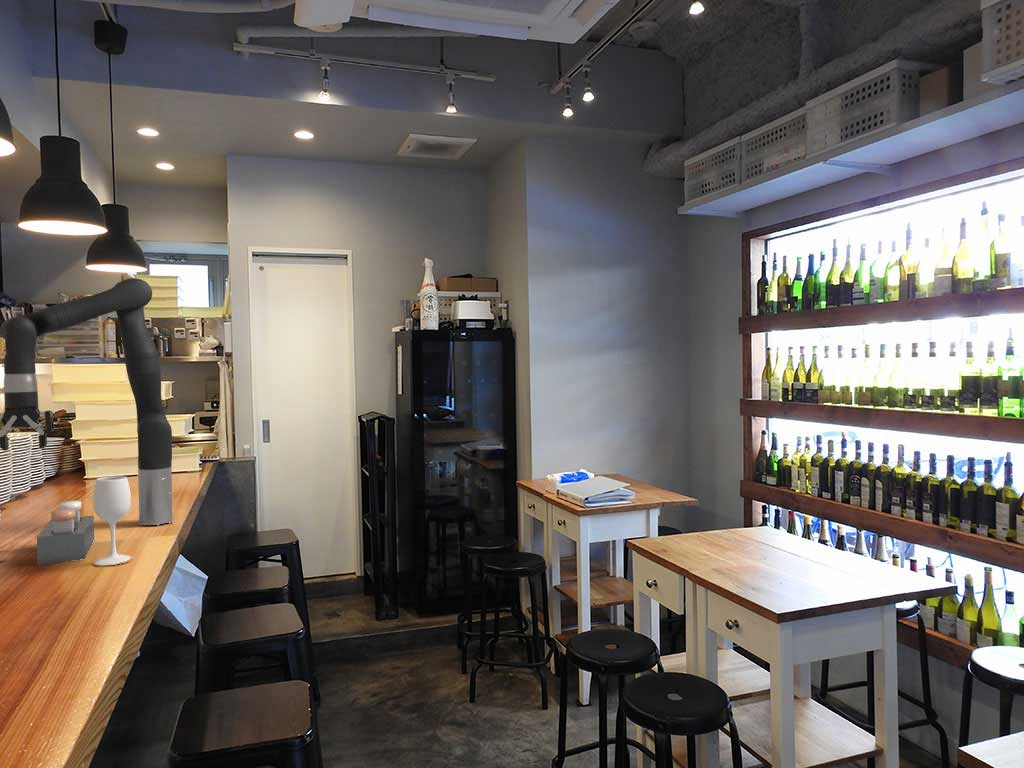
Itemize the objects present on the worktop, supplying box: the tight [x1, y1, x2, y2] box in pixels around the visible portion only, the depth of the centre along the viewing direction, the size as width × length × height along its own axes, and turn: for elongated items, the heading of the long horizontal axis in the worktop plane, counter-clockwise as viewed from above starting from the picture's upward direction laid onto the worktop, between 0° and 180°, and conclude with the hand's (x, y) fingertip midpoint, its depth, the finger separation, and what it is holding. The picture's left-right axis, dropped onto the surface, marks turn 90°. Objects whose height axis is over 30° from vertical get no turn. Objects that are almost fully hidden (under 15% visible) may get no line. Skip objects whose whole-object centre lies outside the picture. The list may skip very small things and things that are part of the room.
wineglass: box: [92, 475, 132, 565], centre depth 175 cm, size 9×9×21 cm
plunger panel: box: [36, 515, 95, 566], centre depth 184 cm, size 10×22×7 cm, turn 26°
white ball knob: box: [58, 500, 82, 522], centre depth 189 cm, size 5×5×7 cm
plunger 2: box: [50, 509, 76, 534], centre depth 178 cm, size 5×5×7 cm
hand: (23, 449), depth 192 cm, fingers open, 8 cm apart
